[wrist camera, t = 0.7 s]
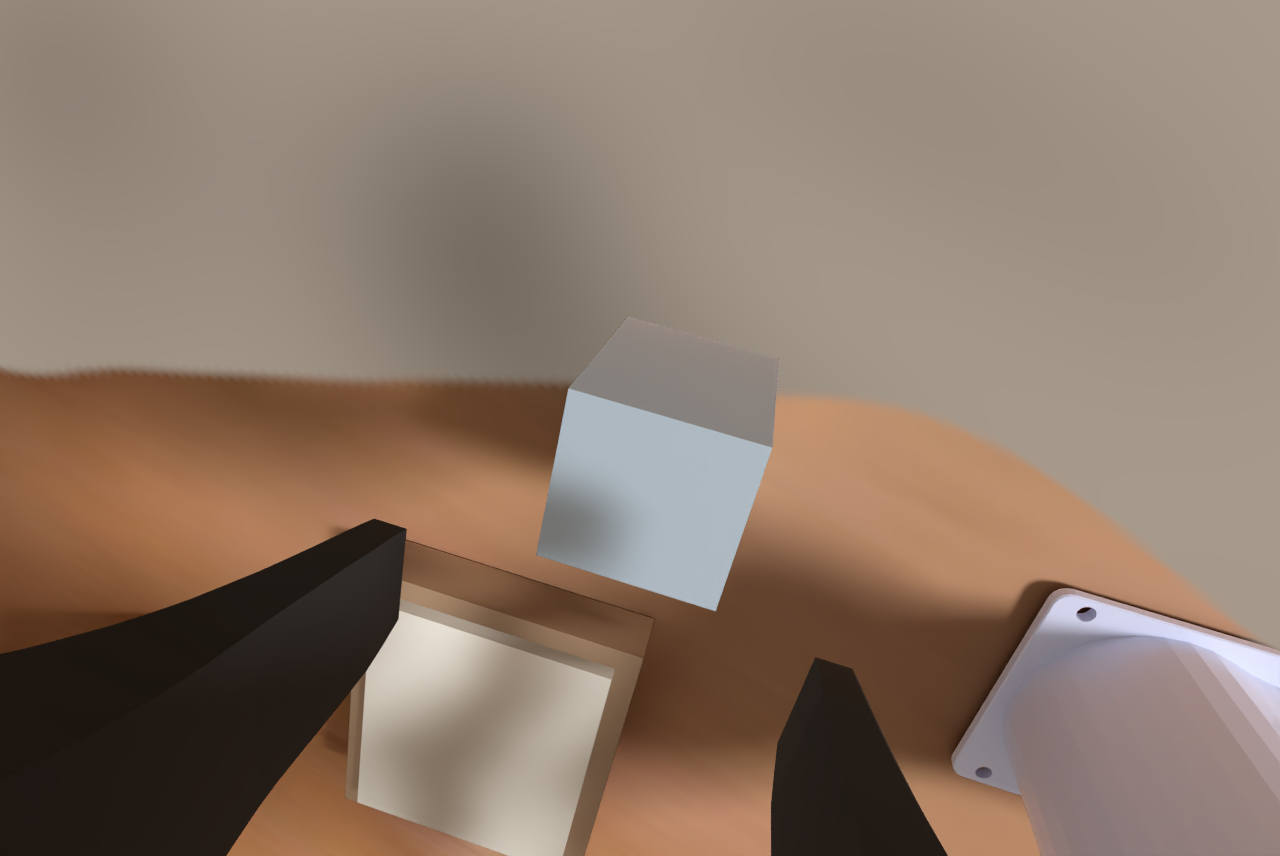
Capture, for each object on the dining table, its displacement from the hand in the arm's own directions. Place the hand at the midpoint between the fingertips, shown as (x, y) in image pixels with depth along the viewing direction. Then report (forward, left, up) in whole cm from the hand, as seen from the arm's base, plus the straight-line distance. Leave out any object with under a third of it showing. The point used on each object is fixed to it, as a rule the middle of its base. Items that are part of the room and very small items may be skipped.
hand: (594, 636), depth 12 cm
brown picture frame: (+4, +14, -10) cm, 18 cm away
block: (0, 0, -10) cm, 10 cm away
